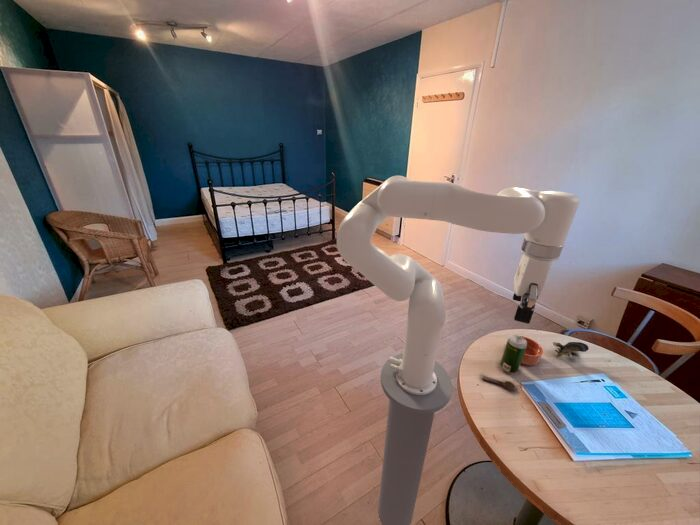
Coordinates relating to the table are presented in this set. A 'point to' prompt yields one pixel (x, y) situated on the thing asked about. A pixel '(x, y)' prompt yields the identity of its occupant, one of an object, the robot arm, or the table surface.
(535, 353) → the bowl
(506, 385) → the spoon
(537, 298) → the robot arm
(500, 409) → the table surface
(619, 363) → the table surface
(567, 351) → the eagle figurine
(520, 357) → the beer can
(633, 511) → the table surface
